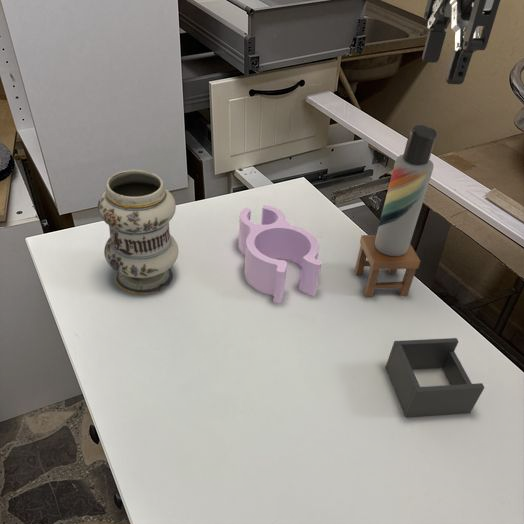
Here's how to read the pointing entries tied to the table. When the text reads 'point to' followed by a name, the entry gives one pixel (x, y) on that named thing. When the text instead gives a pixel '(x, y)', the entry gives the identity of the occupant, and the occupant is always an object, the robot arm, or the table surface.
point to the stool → (385, 266)
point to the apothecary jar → (139, 230)
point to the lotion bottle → (406, 192)
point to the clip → (277, 252)
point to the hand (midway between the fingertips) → (440, 71)
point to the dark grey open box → (432, 397)
